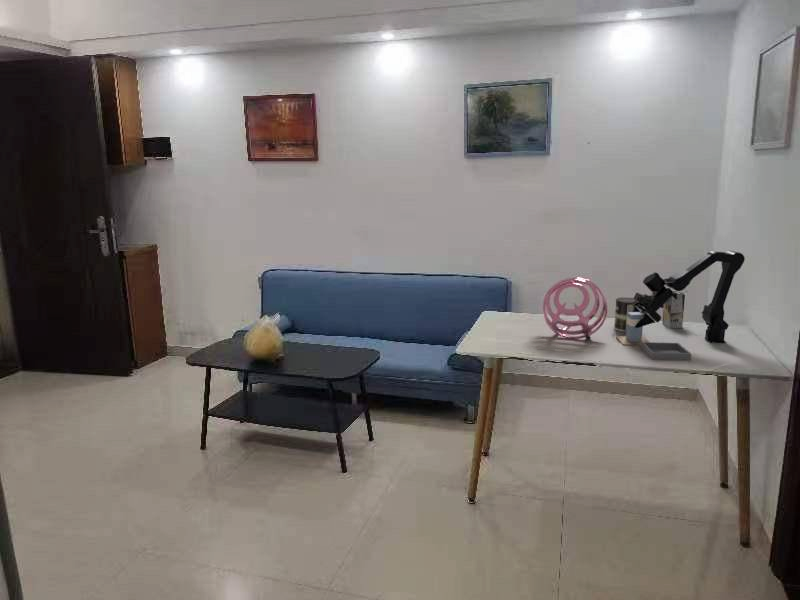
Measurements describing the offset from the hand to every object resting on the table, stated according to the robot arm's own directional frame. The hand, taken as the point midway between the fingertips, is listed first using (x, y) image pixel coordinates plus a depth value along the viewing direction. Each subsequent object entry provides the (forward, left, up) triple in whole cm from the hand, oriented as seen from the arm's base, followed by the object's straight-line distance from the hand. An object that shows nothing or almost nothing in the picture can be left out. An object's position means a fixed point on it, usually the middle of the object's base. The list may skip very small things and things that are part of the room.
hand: (631, 324), depth 252 cm
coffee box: (-26, -29, -8) cm, 40 cm away
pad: (-1, 0, -8) cm, 8 cm away
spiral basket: (+24, -8, -8) cm, 26 cm away
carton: (-1, 0, -7) cm, 7 cm away
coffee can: (-3, -22, -8) cm, 24 cm away
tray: (-9, +17, -8) cm, 21 cm away
